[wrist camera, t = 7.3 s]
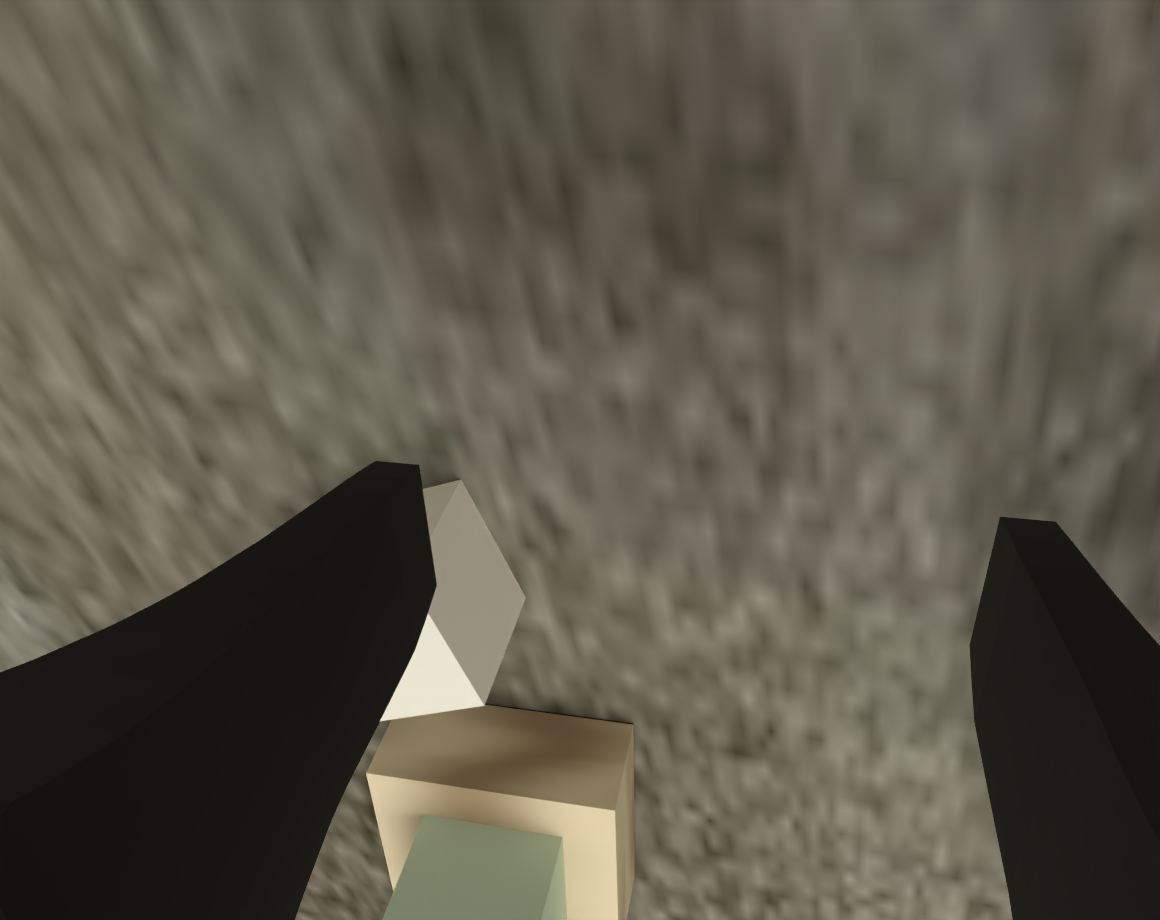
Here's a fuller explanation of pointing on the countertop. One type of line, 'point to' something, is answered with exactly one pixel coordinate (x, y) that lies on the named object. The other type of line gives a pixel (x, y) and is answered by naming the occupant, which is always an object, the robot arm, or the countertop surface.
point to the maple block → (517, 791)
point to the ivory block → (459, 612)
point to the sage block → (479, 874)
